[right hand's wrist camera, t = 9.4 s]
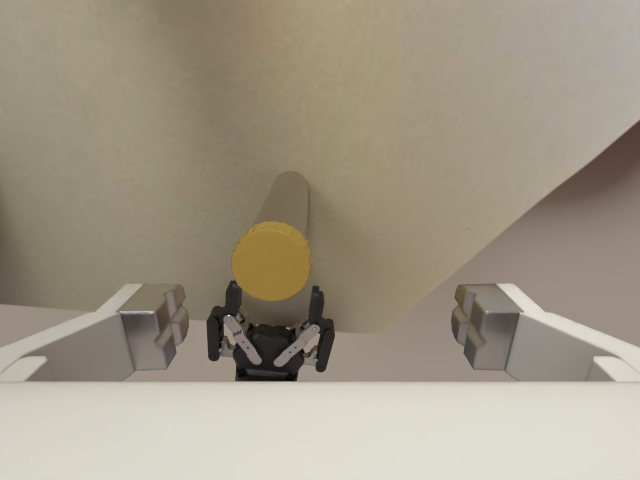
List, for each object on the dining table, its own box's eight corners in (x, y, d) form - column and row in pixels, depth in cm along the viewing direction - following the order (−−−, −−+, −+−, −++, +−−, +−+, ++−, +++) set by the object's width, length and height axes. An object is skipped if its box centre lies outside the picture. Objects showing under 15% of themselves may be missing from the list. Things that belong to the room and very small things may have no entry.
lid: (233, 283, 23) (227, 297, 22) (238, 215, 21) (231, 224, 20) (306, 292, 24) (305, 306, 22) (316, 225, 22) (316, 235, 20)
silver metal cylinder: (271, 204, 40) (235, 289, 22) (274, 169, 38) (239, 229, 20) (306, 209, 40) (300, 297, 22) (311, 174, 39) (309, 238, 21)
